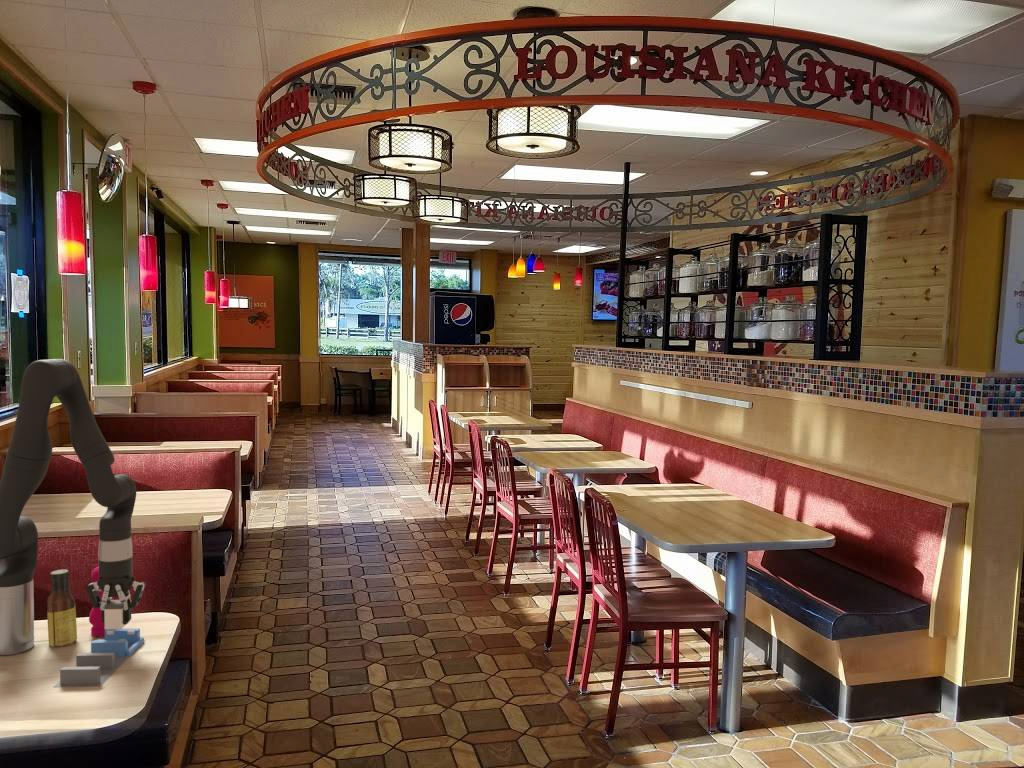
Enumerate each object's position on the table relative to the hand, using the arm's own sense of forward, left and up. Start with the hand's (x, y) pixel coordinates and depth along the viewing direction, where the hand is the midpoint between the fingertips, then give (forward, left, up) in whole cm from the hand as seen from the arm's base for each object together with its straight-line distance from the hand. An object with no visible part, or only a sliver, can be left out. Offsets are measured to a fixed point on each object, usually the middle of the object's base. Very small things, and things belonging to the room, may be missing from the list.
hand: (116, 623), depth 190 cm
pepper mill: (-9, +15, -8) cm, 19 cm away
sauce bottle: (-15, +5, -8) cm, 18 cm away
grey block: (0, 0, -1) cm, 1 cm away
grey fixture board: (0, -7, -8) cm, 11 cm away
